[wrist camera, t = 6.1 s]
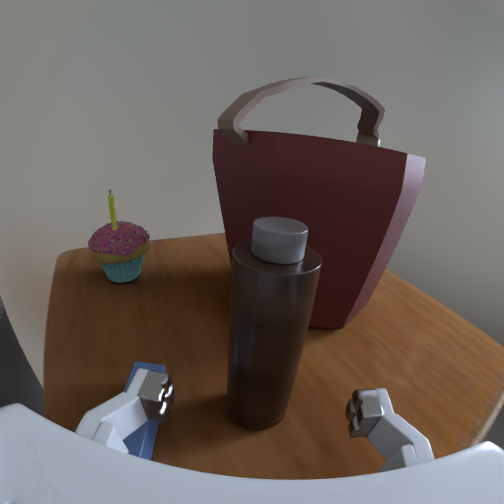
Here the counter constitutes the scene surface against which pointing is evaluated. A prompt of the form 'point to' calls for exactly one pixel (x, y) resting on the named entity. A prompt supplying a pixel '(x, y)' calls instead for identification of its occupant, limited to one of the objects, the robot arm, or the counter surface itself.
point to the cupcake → (119, 247)
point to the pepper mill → (268, 319)
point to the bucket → (319, 194)
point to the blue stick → (145, 435)
